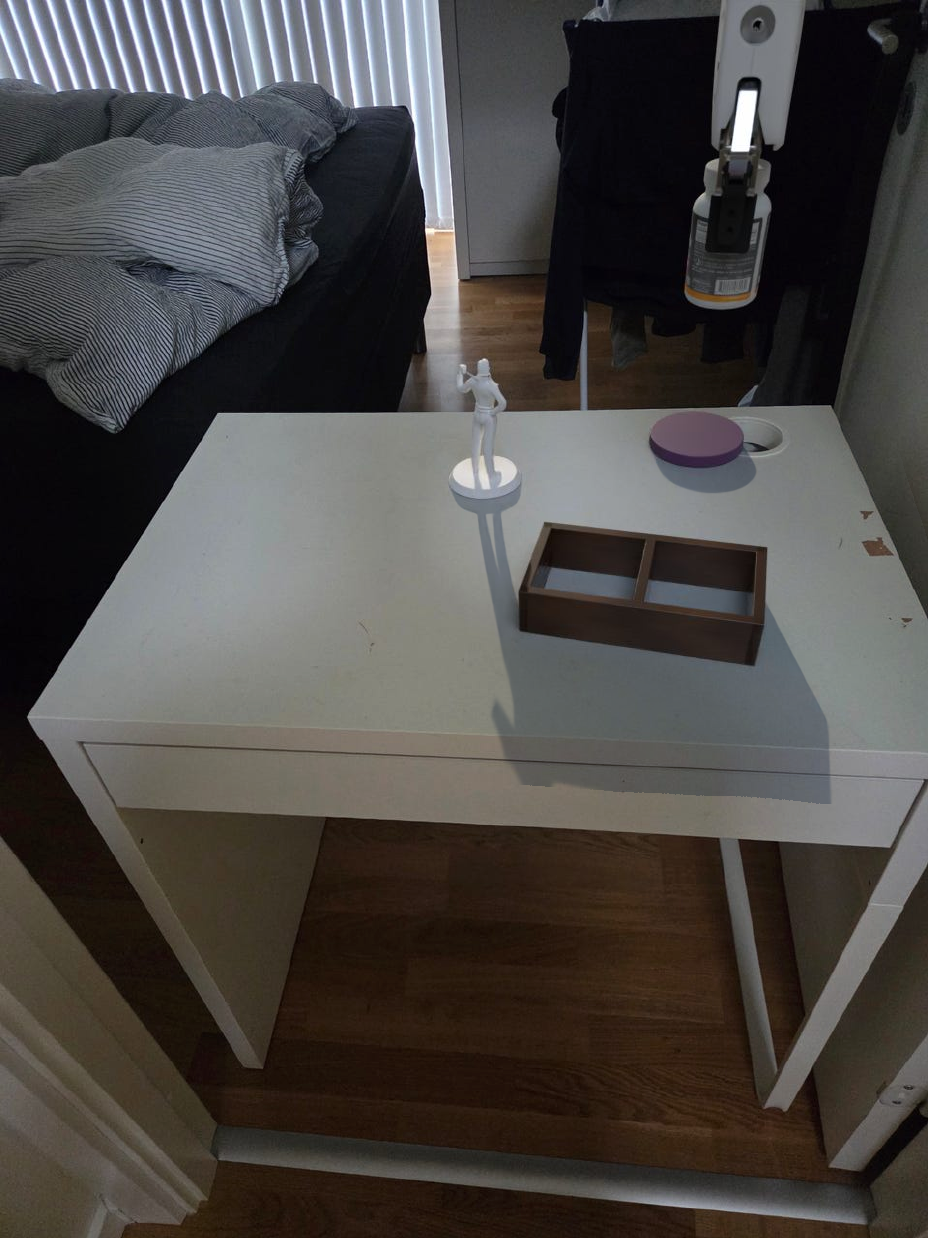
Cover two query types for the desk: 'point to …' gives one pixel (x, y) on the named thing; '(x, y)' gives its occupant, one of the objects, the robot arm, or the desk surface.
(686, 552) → the rack
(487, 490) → the figurine
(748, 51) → the robot arm
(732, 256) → the pill bottle
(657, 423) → the disc
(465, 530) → the desk surface
